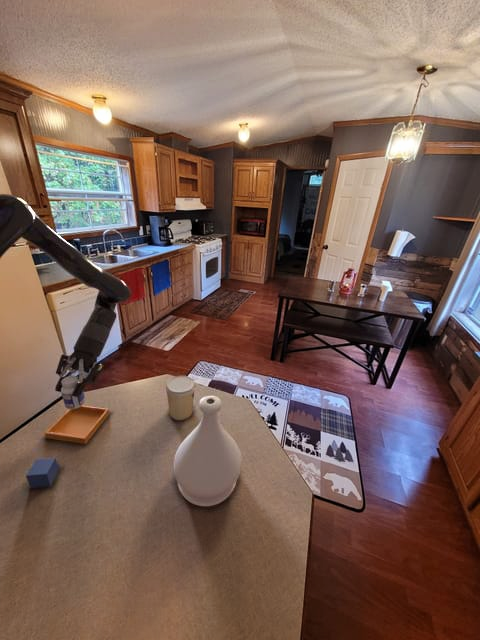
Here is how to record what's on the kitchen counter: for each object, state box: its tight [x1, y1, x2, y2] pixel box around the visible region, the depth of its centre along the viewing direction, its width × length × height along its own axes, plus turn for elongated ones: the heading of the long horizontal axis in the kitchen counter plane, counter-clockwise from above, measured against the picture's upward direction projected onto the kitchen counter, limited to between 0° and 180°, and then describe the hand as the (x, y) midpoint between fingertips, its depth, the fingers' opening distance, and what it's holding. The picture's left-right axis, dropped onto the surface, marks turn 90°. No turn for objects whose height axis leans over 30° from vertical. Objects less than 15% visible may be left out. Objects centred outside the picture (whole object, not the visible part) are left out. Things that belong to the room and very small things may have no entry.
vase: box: [173, 395, 243, 507], centre depth 62 cm, size 17×17×25 cm
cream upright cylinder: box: [165, 375, 196, 421], centre depth 85 cm, size 9×9×12 cm
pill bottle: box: [60, 375, 87, 410], centre depth 74 cm, size 5×5×9 cm
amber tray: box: [44, 404, 111, 445], centre depth 79 cm, size 12×12×2 cm
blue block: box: [25, 457, 60, 489], centre depth 63 cm, size 4×4×4 cm
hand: (66, 393), depth 72 cm, fingers closed on pill bottle, 5 cm apart
